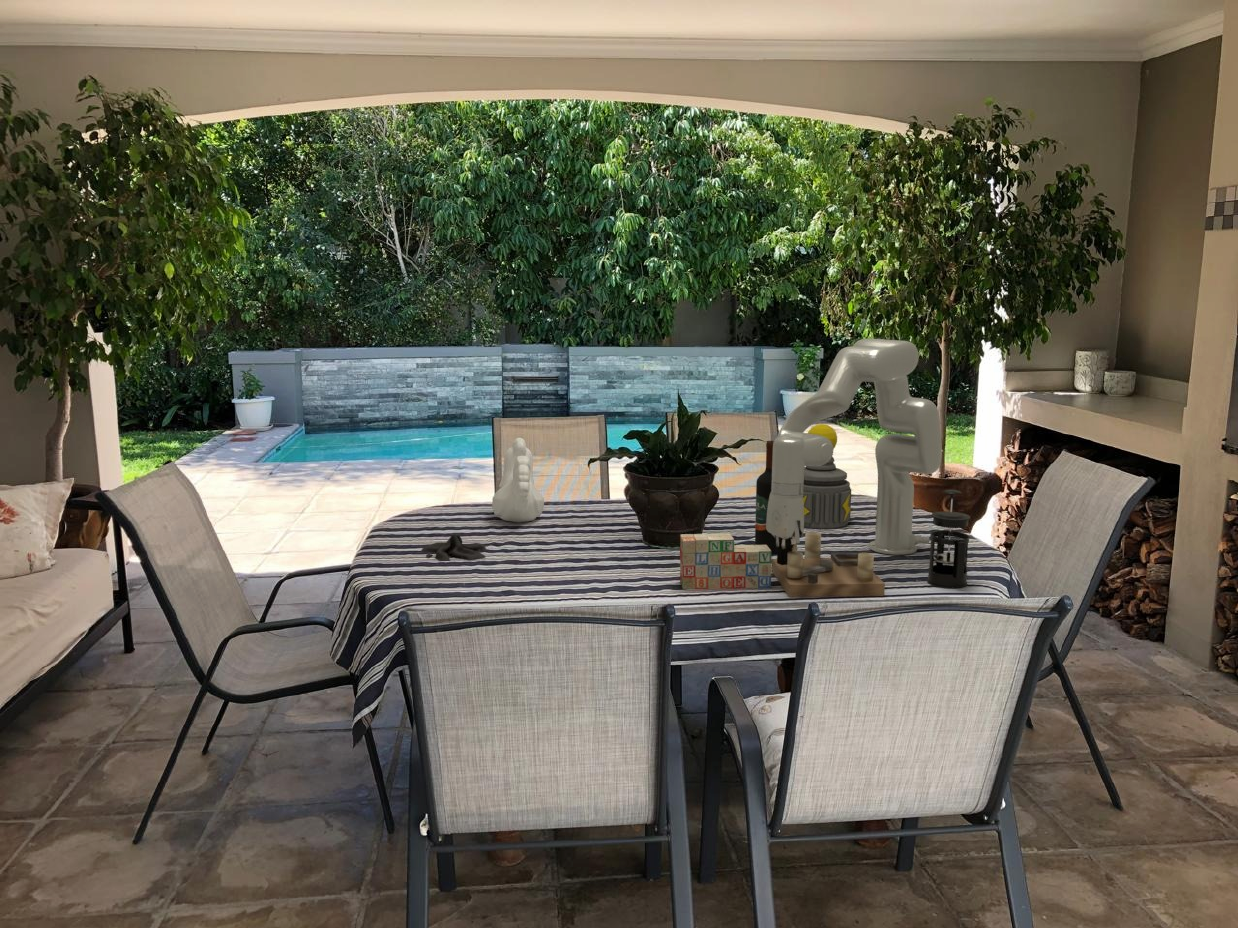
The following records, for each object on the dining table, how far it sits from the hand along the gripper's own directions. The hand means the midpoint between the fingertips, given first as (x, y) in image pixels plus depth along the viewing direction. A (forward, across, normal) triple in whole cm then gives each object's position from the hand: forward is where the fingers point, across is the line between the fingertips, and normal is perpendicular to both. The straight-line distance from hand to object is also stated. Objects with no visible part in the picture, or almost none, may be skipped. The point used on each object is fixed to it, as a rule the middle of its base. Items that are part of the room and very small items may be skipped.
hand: (784, 563), depth 255 cm
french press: (+5, +15, +38) cm, 41 cm away
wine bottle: (+5, -29, +14) cm, 33 cm away
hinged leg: (+2, +3, +5) cm, 7 cm away
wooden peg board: (+5, +2, +11) cm, 12 cm away
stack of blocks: (+6, -6, -13) cm, 15 cm away
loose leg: (+5, -14, +17) cm, 23 cm away
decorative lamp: (+5, -51, +45) cm, 68 cm away
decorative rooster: (+6, -88, -38) cm, 96 cm away
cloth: (+7, -60, -66) cm, 89 cm away
